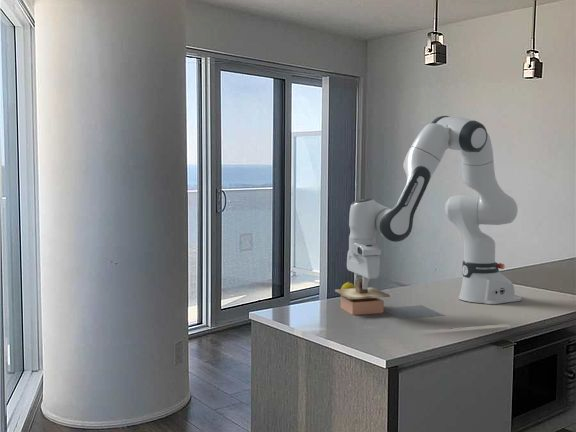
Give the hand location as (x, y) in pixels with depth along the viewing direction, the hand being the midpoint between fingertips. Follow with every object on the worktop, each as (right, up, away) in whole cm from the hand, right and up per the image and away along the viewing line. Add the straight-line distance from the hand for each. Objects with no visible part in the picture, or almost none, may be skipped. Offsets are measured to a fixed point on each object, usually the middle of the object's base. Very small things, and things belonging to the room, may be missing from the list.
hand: (362, 287), depth 211 cm
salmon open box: (0, -9, +1) cm, 9 cm away
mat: (+16, -9, -2) cm, 19 cm away
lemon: (-3, -8, +15) cm, 17 cm away
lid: (0, -2, 0) cm, 2 cm away
